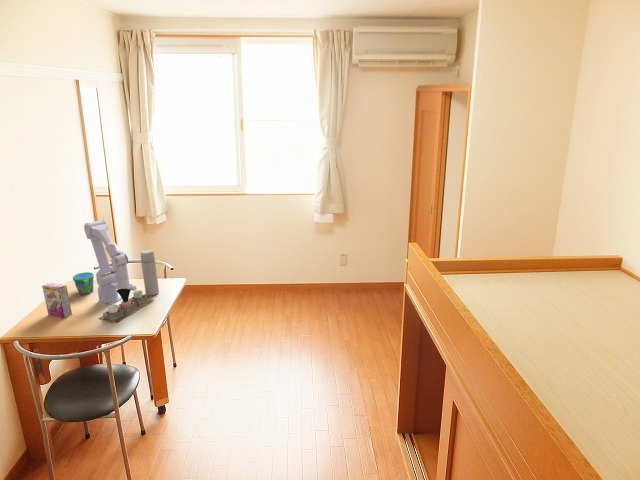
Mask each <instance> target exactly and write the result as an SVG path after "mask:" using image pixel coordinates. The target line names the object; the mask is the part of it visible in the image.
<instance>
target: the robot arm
mask: <svg viewBox="0 0 640 480" xmlns="http://www.w3.org/2000/svg"><path fill="white" fill-rule="evenodd" d="M108 228H109V227H108V223H107V221H106V220H104V219H99V220H96V221H92V222H85V223H84V226H83V229H84V233H85V237H86V238H87V239H88V240H90V242H91V245H92V248H93V251H94V255H95V257H96V261H97V264H98V267H99V270H98V271H97V272H96V273H95V278H96V283H97V285H98V287H97V294H98V300H97V301H98V303H104V304H109V305H113V304H116V302H118V301H120V300H121V301H123V302H127V301H128V300H129V299H130V294H131V291H132V292H135V291H138V290H137V286H136V285H134V284H132V283H130V278H129V271H128V266H127V265H128V264H129V258H128V256H127V254H126V253H124V251H122V250H121V248H120V247H119V245H118V244H117V243H116V242H113V240H112V238H111V237H110V234H109V232H108V231H109V230H108ZM104 245H105V246H104ZM106 253H107V254H108V255H109V257H110V261H111V264H112V266H110V263H109V259H108V257H107V254H106Z"/></svg>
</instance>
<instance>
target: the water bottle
mask: <svg viewBox="0 0 640 480" xmlns="http://www.w3.org/2000/svg"><path fill="white" fill-rule="evenodd" d="M139 262H141V269H142V276H143V277H142V278H143V284H144V292H145V294H146V295H147V296H155V295H158V294H159V292H160V287H159V281H158V273H157V266H156V265H157V264H156V257H155V251H154V250H153V249H144V250H141V251H140V260H139Z"/></svg>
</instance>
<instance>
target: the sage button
mask: <svg viewBox="0 0 640 480" xmlns="http://www.w3.org/2000/svg"><path fill="white" fill-rule="evenodd" d="M132 292H133V296H134V299H136V300H140V299H142V298H143V295H144V294H143V290H135V291H132Z"/></svg>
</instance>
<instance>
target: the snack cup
mask: <svg viewBox="0 0 640 480" xmlns="http://www.w3.org/2000/svg"><path fill="white" fill-rule="evenodd" d="M94 277H95V274H94V273H93V272H89V271H88V272H79V273H77V274H75V275H73V276H72V281H74V284H75V287H76V290H77V293H78V294H79V295H88V294H90V293H93V292H94Z"/></svg>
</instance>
